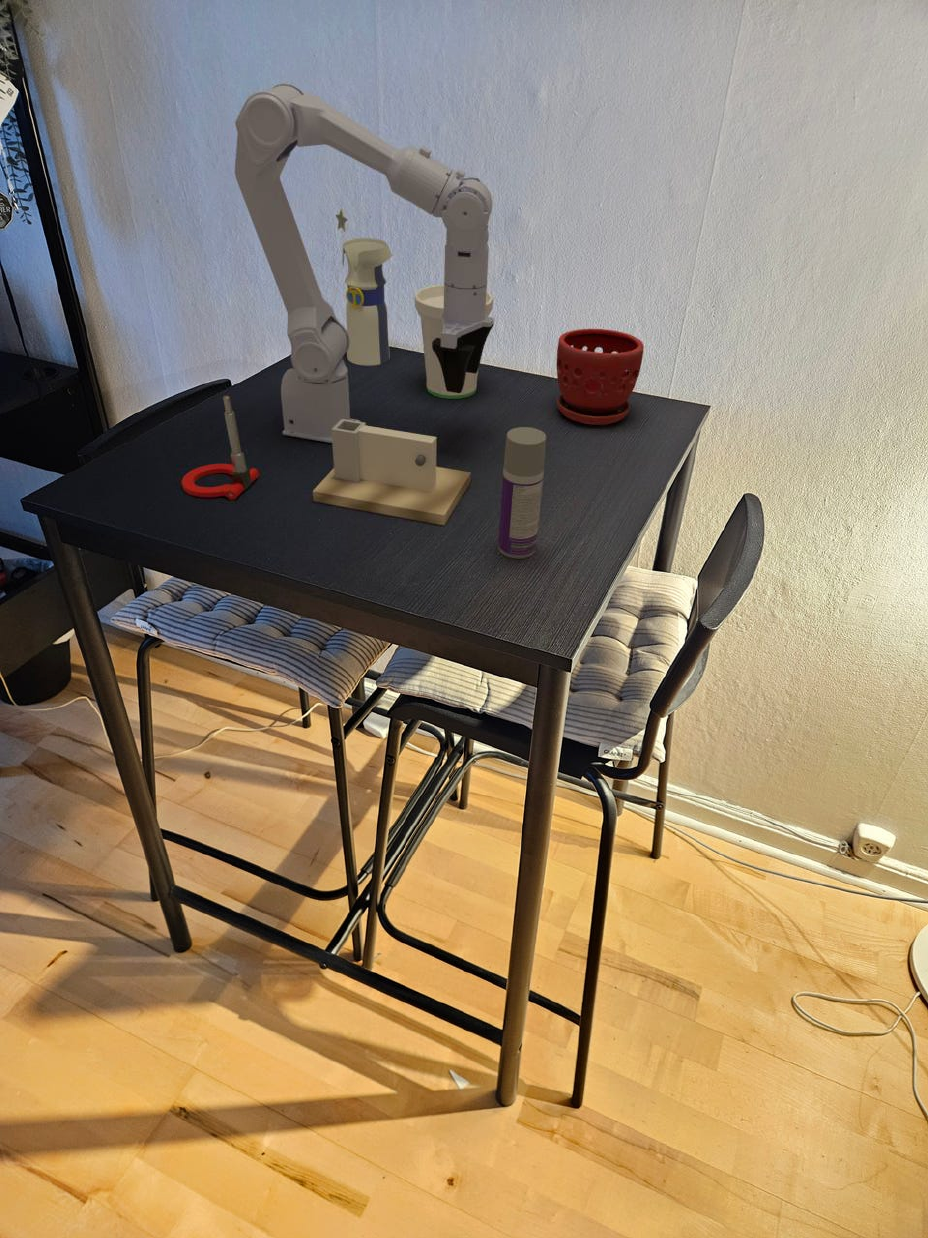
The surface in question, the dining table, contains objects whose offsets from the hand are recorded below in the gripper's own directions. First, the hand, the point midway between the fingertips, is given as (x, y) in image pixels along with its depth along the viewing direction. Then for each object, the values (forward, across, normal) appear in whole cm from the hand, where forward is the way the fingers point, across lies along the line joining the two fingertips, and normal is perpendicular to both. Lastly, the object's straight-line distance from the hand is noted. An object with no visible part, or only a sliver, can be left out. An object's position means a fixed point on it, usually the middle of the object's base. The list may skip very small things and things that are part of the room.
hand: (462, 381), depth 119 cm
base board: (+9, -17, +4) cm, 20 cm away
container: (+10, -25, -15) cm, 31 cm away
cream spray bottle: (+10, +26, +25) cm, 38 cm away
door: (+8, -17, +5) cm, 20 cm away
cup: (+10, +19, +7) cm, 22 cm away
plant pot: (+10, +18, -17) cm, 26 cm away
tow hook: (+10, -24, +27) cm, 37 cm away
